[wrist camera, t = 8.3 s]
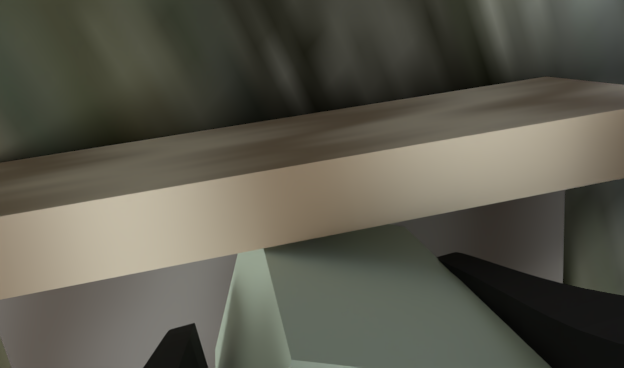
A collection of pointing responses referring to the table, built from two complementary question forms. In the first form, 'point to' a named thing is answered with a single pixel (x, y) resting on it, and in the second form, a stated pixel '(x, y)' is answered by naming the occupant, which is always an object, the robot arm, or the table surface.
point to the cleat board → (284, 207)
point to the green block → (360, 309)
